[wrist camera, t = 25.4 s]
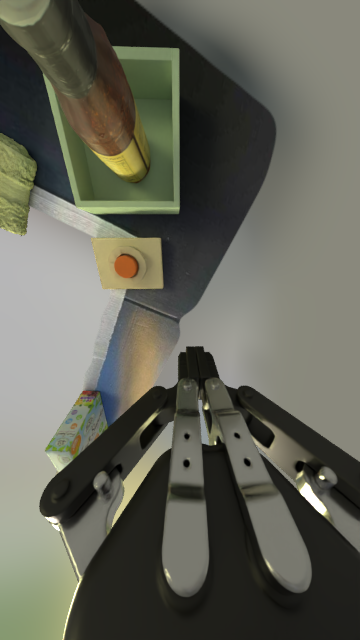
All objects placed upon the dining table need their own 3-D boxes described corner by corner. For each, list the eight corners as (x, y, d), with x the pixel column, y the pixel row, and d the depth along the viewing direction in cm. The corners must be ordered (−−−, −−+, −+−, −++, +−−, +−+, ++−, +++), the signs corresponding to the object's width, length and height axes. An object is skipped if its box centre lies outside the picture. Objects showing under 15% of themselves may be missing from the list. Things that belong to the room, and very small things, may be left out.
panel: (161, 238, 29) (159, 237, 25) (163, 286, 33) (162, 290, 29) (95, 238, 28) (85, 237, 25) (106, 286, 32) (99, 291, 29)
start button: (136, 255, 27) (134, 255, 25) (139, 276, 28) (137, 278, 27) (115, 255, 27) (112, 256, 25) (119, 276, 28) (116, 278, 27)
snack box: (81, 389, 46) (42, 451, 32) (100, 390, 46) (70, 451, 32) (94, 430, 55) (68, 491, 42) (110, 430, 55) (89, 490, 42)
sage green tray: (178, 93, 21) (179, 47, 16) (178, 214, 27) (179, 207, 22) (68, 91, 20) (35, 43, 16) (94, 214, 27) (76, 207, 22)
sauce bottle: (121, 117, 21) (-143, -505, 4) (159, 153, 23) (111, -145, 5) (102, 168, 24) (-113, -54, 6) (139, 197, 25) (57, 93, 8)
